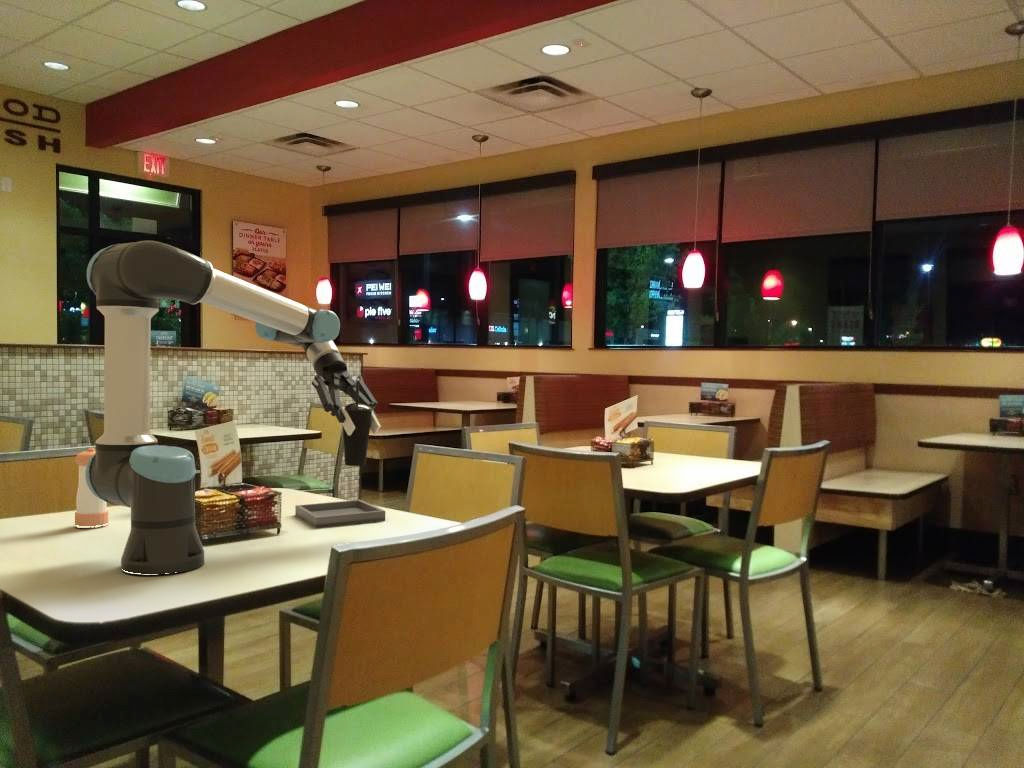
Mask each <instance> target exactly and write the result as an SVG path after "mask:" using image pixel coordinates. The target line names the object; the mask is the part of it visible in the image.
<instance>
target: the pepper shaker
mask: <svg viewBox="0 0 1024 768" xmlns="http://www.w3.org/2000/svg"><path fill="white" fill-rule="evenodd" d="M95 453H96V448H94V447H89V448H88V449H87V450H85V451H82V452H80V453H77V454H76V455H75V457H74V462H75V465H78V484H77V485H78V487H77V489H76V490H77V491H76V497H75V499H76V502H75V503H76V506H75V507H76V511H75V513H74V526H75V525H79V526H96V525H103V524H106V523H108V524H109V510H108V509H107V507H108V506H107V505H108V504H107V502H105V501H103V500H101V499H99V498H98V497H96V496H95V495H94V494H93V493H92V492H91V490H90V489H89V487H88V485H87V482H86V476H85V472H86V467H87V464H88V462H89V460H90V459H91V458H92V457H93V455H94V454H95Z"/></svg>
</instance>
